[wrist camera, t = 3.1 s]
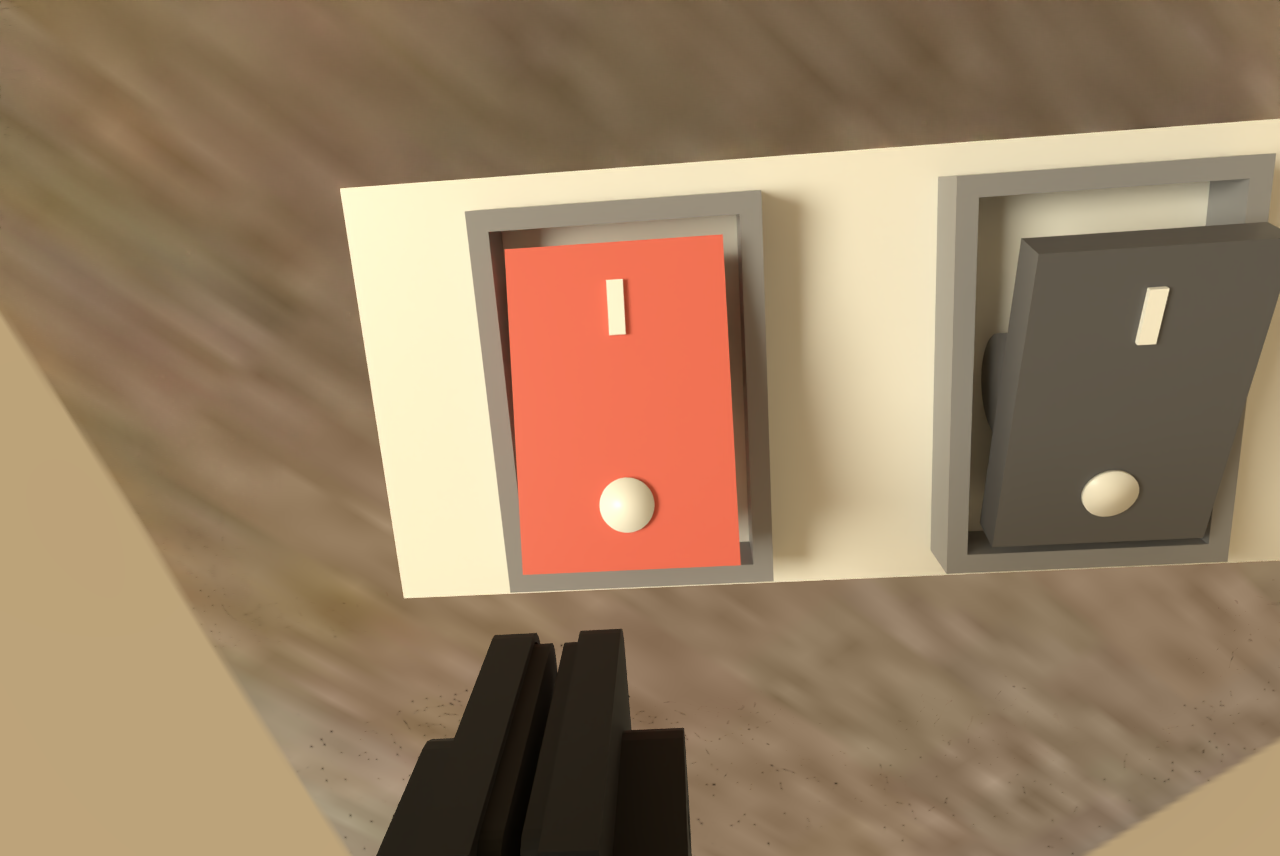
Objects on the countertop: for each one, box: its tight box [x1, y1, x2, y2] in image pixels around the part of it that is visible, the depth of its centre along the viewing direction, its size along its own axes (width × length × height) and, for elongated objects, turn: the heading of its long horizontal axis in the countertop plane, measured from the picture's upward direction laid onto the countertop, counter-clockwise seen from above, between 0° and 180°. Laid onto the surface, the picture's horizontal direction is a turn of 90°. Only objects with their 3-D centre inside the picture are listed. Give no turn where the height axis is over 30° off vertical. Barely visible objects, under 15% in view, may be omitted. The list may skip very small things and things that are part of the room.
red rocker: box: [504, 234, 741, 575], centre depth 17 cm, size 4×6×2 cm, turn 4°
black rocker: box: [980, 222, 1280, 547], centre depth 16 cm, size 4×6×2 cm, turn 4°
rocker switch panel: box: [340, 119, 1280, 598], centre depth 19 cm, size 20×9×5 cm, turn 94°
